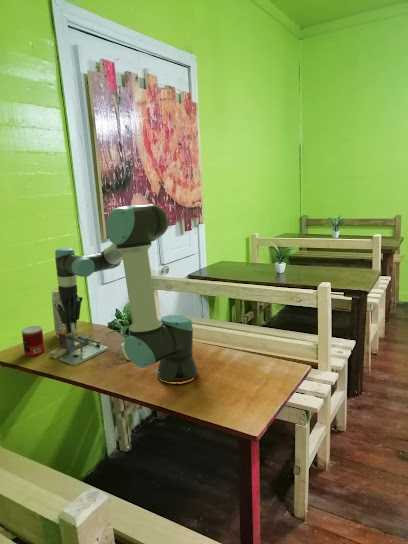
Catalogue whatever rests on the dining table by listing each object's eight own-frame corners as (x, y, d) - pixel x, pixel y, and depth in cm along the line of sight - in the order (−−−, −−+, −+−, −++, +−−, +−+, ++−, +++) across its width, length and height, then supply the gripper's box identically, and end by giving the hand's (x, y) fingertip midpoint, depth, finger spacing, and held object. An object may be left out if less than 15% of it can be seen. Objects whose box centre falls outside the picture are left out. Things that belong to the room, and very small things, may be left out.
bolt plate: (108, 349, 174) (107, 346, 174) (74, 366, 159) (74, 363, 159) (93, 344, 179) (93, 341, 179) (59, 360, 164) (59, 357, 164)
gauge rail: (103, 347, 176) (102, 340, 175) (69, 364, 161) (68, 355, 160) (83, 341, 182) (82, 333, 182) (49, 356, 168) (48, 348, 167)
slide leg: (88, 354, 169) (86, 335, 167) (80, 358, 166) (79, 339, 163) (67, 347, 176) (66, 329, 174) (60, 350, 172) (58, 332, 170)
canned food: (47, 349, 174) (45, 325, 171) (38, 357, 166) (35, 333, 164) (30, 348, 175) (28, 325, 172) (21, 357, 167) (18, 332, 164)
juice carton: (79, 331, 193) (75, 283, 187) (75, 338, 185) (70, 288, 179) (59, 332, 192) (54, 284, 187) (54, 338, 185) (49, 289, 179)
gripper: (74, 279, 175) (78, 330, 181) (48, 287, 165) (53, 340, 170) (85, 282, 171) (89, 333, 177) (60, 289, 161) (65, 344, 166)
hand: (72, 337), depth 174 cm, fingers closed
